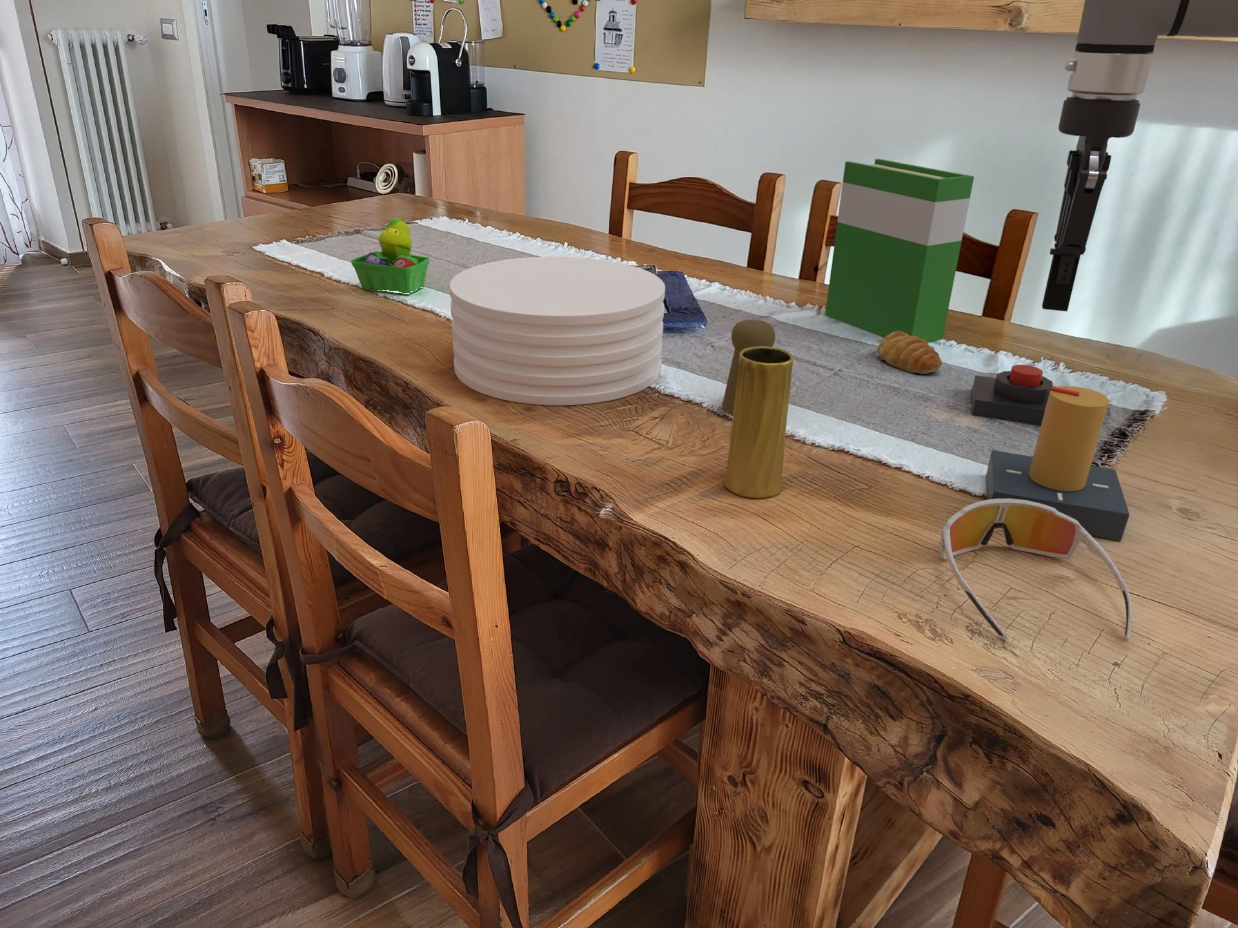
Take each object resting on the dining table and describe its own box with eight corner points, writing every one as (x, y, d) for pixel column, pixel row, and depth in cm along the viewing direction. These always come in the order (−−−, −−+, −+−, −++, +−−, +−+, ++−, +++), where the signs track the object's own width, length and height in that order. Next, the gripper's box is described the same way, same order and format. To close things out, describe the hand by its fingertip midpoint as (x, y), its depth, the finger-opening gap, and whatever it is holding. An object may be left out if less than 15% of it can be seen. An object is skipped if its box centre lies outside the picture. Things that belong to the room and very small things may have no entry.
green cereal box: (825, 315, 149) (845, 161, 138) (857, 308, 153) (879, 159, 142) (909, 346, 136) (939, 180, 125) (942, 339, 139) (974, 176, 129)
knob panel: (1107, 494, 95) (1116, 467, 94) (1121, 541, 86) (1130, 512, 85) (985, 474, 98) (992, 448, 97) (987, 517, 90) (994, 489, 88)
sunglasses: (1063, 540, 86) (1080, 497, 83) (1144, 659, 74) (1167, 614, 71) (915, 540, 85) (927, 497, 82) (972, 660, 73) (989, 615, 70)
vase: (711, 482, 95) (722, 352, 89) (751, 466, 99) (764, 340, 92) (754, 505, 91) (769, 370, 84) (794, 487, 94) (811, 357, 88)
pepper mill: (713, 409, 112) (719, 323, 107) (735, 394, 117) (743, 311, 112) (757, 421, 109) (766, 334, 104) (778, 406, 114) (788, 321, 109)
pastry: (952, 373, 126) (958, 347, 124) (915, 380, 123) (919, 353, 122) (906, 352, 134) (910, 327, 132) (869, 358, 131) (873, 332, 129)
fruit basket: (351, 291, 154) (344, 223, 149) (379, 278, 161) (373, 213, 156) (411, 299, 150) (406, 229, 145) (437, 285, 158) (433, 219, 153)
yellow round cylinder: (1088, 476, 92) (1113, 390, 88) (1081, 496, 88) (1107, 407, 84) (1033, 463, 94) (1055, 378, 90) (1024, 482, 90) (1046, 395, 86)
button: (1038, 380, 114) (1042, 366, 114) (1040, 390, 111) (1043, 376, 111) (1008, 375, 115) (1011, 362, 115) (1009, 385, 112) (1012, 372, 112)
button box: (1061, 403, 117) (1069, 374, 116) (1067, 430, 110) (1076, 399, 108) (971, 390, 120) (977, 362, 119) (971, 416, 113) (978, 385, 111)
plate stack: (414, 358, 125) (408, 276, 120) (573, 321, 142) (573, 247, 137) (538, 424, 107) (536, 330, 102) (703, 372, 124) (709, 289, 119)
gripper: (1060, 91, 105) (1018, 291, 116) (1071, 99, 94) (1023, 320, 105) (1132, 93, 103) (1082, 297, 113) (1152, 102, 92) (1095, 327, 102)
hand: (1054, 308), depth 109 cm, fingers closed
